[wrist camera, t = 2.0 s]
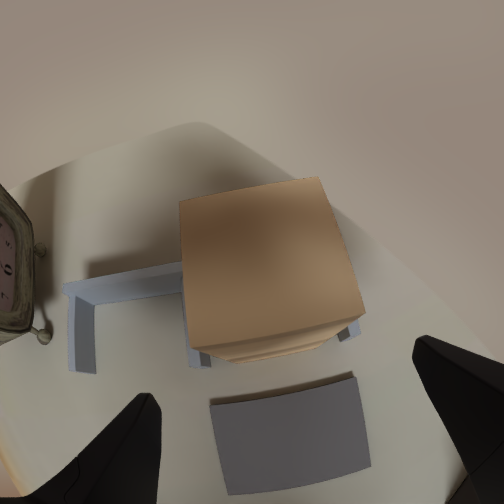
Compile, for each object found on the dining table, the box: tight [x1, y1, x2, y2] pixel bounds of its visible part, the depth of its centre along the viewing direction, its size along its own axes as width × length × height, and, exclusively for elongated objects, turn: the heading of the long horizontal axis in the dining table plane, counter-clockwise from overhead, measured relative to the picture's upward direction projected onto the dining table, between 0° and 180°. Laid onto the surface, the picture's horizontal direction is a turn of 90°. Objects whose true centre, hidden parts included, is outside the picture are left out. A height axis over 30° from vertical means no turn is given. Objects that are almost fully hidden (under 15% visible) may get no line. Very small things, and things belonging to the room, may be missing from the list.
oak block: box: [179, 177, 366, 364], centre depth 15 cm, size 6×6×12 cm
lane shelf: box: [62, 261, 361, 374], centre depth 19 cm, size 7×22×4 cm, turn 100°
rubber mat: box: [209, 377, 371, 495], centre depth 16 cm, size 8×11×1 cm
